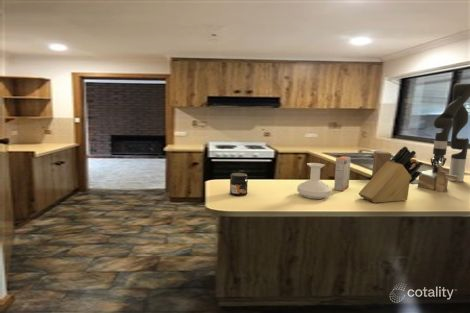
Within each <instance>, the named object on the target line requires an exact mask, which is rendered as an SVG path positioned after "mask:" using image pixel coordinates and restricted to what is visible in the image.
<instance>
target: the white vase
mask: <svg viewBox="0 0 470 313" xmlns="http://www.w3.org/2000/svg"><path fill="white" fill-rule="evenodd" d="M306 164H307V166H309V168H310V173H309V174H310V175H309V177H310V178H309V179H307V180H306V181H303V182H301V183H300V184H298V185H297V188H296V189H297V190H296V191H297V192H298V194H299V195H301V196H302V197H304V198H308V199H312V200H313V199H314V200H316V199H317V200H319V199H320V200H321V199H326V198H327V197H329V196H331V195H332V192H333V190H332V188H331V187H330V186H329V185H328V184H326V183H325V182H323V181H322V180H321V169H322V168H323V167H325V166H326V164H324V163H318V162H309V163H306Z"/></svg>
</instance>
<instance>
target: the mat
mask: <svg viewBox="0 0 470 313" xmlns="http://www.w3.org/2000/svg"><path fill="white" fill-rule="evenodd" d="M418 181H419V179H418V178H416V179H415V180H414V181H413V182H412V183H411V184H412V185H416V184H417V185H418ZM411 184H410V185H411Z"/></svg>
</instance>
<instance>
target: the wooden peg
mask: <svg viewBox="0 0 470 313" xmlns="http://www.w3.org/2000/svg"><path fill="white" fill-rule="evenodd" d="M442 172H443V171H442ZM442 172H441V173H442ZM444 178H448V179H453V180H459V176H455V175H450V174H445V177H444Z"/></svg>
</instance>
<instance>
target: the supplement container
mask: <svg viewBox="0 0 470 313" xmlns="http://www.w3.org/2000/svg"><path fill="white" fill-rule="evenodd" d="M229 194H230V195H231V196H233V195H234V196H233V197H245V196H247V195H248V174H247V173H243V172H233V173H231V174H230V179H229Z"/></svg>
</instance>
